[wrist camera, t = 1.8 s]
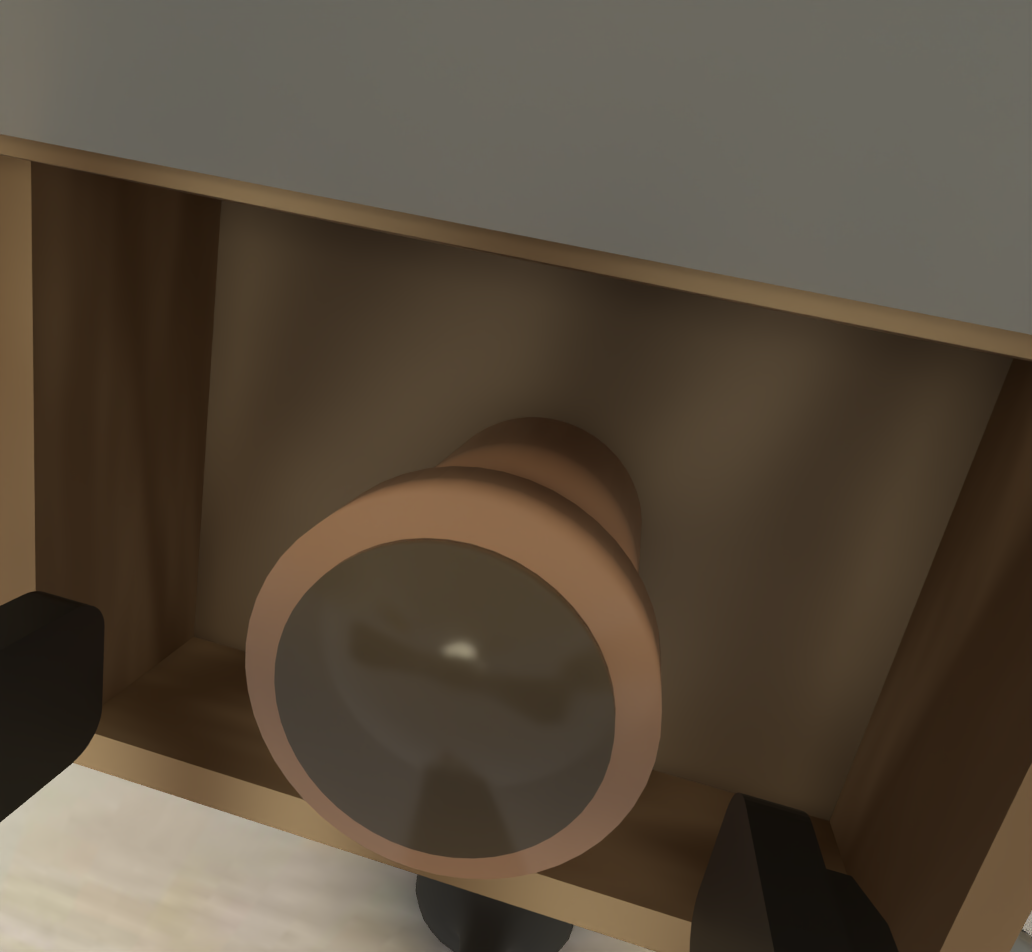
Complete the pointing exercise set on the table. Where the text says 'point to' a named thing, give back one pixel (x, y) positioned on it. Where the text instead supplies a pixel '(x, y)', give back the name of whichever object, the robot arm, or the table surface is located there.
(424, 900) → the sundae
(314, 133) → the frame lid
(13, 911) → the table surface
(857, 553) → the box
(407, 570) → the clay pot
